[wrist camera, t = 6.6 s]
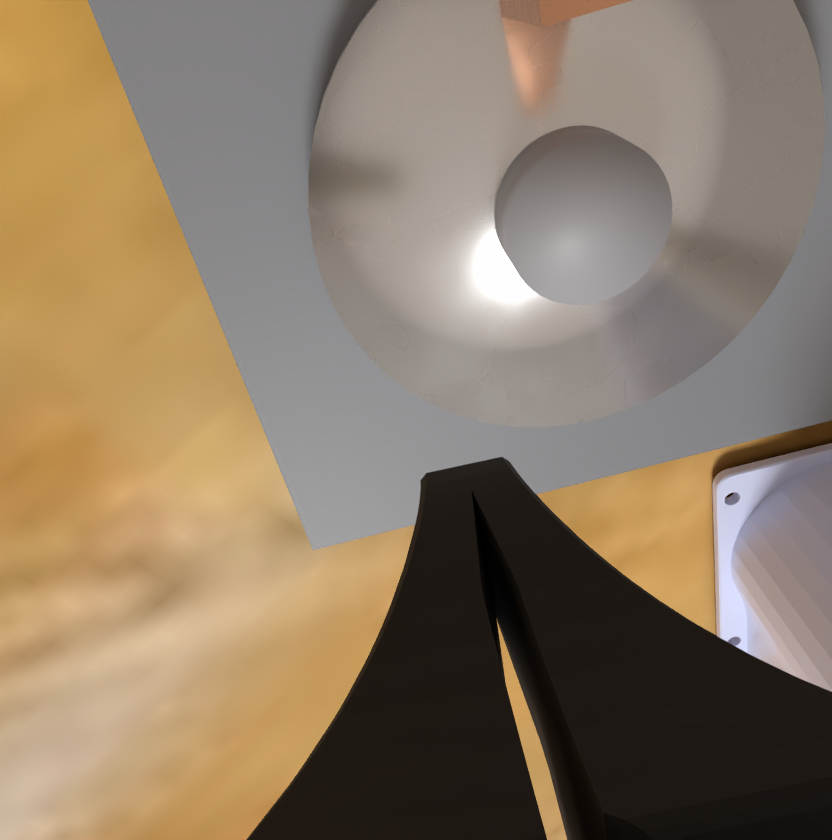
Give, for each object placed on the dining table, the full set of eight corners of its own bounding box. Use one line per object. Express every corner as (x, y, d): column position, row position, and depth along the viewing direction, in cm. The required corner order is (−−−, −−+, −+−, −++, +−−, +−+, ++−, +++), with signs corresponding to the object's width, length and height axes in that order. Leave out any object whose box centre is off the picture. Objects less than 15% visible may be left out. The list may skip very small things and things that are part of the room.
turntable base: (863, 391, 24) (948, 458, 20) (313, 529, 24) (311, 615, 21) (941, -406, 14) (1121, -519, 11) (41, -148, 15) (-39, -182, 12)
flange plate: (386, 455, 22) (398, 556, 18) (168, -191, 14) (108, -254, 10) (797, 344, 21) (899, 424, 17) (811, -394, 13) (1003, -541, 9)
